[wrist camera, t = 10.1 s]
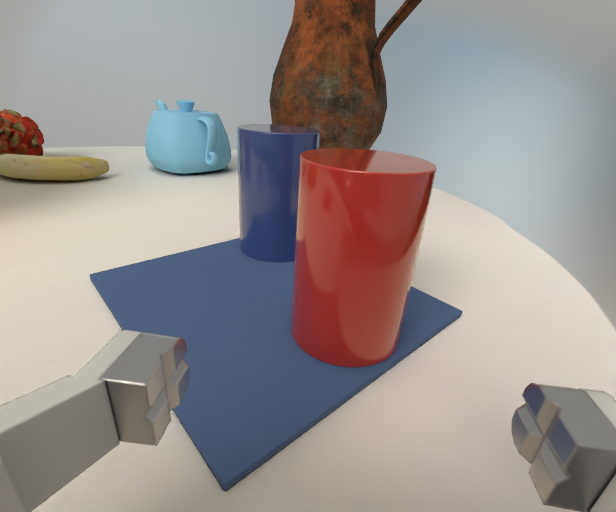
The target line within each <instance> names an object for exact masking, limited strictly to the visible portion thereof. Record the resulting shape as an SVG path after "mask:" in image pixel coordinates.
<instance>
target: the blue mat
mask: <svg viewBox="0 0 616 512" xmlns="http://www.w3.org/2000/svg"><path fill="white" fill-rule="evenodd" d="M293 273H294V261H288V262H268V261H261V260H257V259H254V258H251V257H249V256H247V255H246V254H244V253H243V252H242V250H241V248H240V238H238V239H234V240H230V241H226V242H222V243H217V244H213V245H209V246H205V247H201V248H197V249H193V250H189V251H184V252H180V253H176V254H172V255H168V256H164V257H160V258H156V259H152V260H147V261H143V262H139V263H135V264H131V265H127V266H123V267H119V268H114V269H110V270H106V271H102V272H98V273H94V274H90V279H91V281H92V282H93V284H94V285H95V287H96V288H97V290H98V292H99V293H100V295H101V296H102V298H103V300H104V301H105V303H106V304H107V306H108V307H109V309H110V311H111V312H112V314H113V315H114V317H115V319H116V320H117V322H118V323H119V325H120V326H121V328H122V330H130V331H136V332H142V333H144V332H146V333H152V334H159V335H165V336H172V337H178V338H183V339H184V340H185V341H186V347H187V352H186V354H185V356H184V357H183V360H184V361H185V362H186V363H187V364H188V365H189V382H188V386H187V389H186V392H185V395H184V397H183V399H182V401H181V403H180V405H178V406H177V407H175V408H173V410H174V412H175V414H176V415H177V417H178V418H179V420H180V422H181V423H182V425H183V426H184V428H185V429H186V431H187V433H188V434H189V436H190V437H191V439H192V441H193V442H194V444H195V445H196V447H197V448H198V450H199V452H200V453H201V455H202V456H203V458H204V460H205V461H206V463H207V464H208V466H209V468H210V469H211V471H212V472H213V474H214V475H215V477H216V479H217V480H218V482H219V483H220V485H221V487H222V488H223V490H224V491H226V490H227V489H228V488H230V487H231V486H232V485H234V484H235V483H236V482H238V481H239V480H240V479H242V478H243V477H244V476H246V475H247V474H249V473H250V472H251V471H253V470H254V469H255V468H257V467H258V466H259V465H261V464H262V463H263V462H265V461H266V460H267V459H269V458H270V457H271V456H273V455H274V454H275V453H277V452H278V451H279V450H281V449H282V448H284V447H285V446H286V445H288V444H289V443H290V442H292V441H293V440H294V439H296V438H297V437H298V436H300V435H301V434H302V433H304V432H305V431H306V430H308V429H309V428H310V427H312V426H313V425H314V424H316V423H317V422H319V421H320V420H321V419H323V418H324V417H325V416H327V415H328V414H329V413H331V412H332V411H333V410H335V409H336V408H337V407H339V406H340V405H341V404H343V403H344V402H345V401H347V400H348V399H349V398H351V397H352V396H354V395H355V394H356V393H358V392H359V391H360V390H362V389H363V388H364V387H366V386H367V385H368V384H370V383H371V382H372V381H374V380H375V379H376V378H378V377H379V376H380V375H382V374H383V373H384V372H386V371H387V370H389V369H390V368H391V367H393V366H394V365H395V364H397V363H398V362H399V361H401V360H402V359H403V358H405V357H406V356H407V355H409V354H410V353H411V352H413V351H414V350H415V349H417V348H418V347H419V346H421V345H422V344H424V343H425V342H426V341H428V340H429V339H430V338H432V337H433V336H434V335H436V334H437V333H438V332H440V331H441V330H442V329H444V328H445V327H446V326H448V325H449V324H450V323H452V322H453V321H454V320H456V319H457V318H459V317H460V316H461V314H462V311H461V310H459V309H457V308H455V307H453V306H451V305H449V304H447V303H444V302H442V301H440V300H438V299H436V298H434V297H432V296H430V295H428V294H426V293H424V292H422V291H420V290H417V289H415V288H413V287H411V288H410V293H409V297H408V302H407V307H406V311H405V316H404V320H403V325H402V329H401V334H400V339H399V343H398V347H397V348H396V350H395V352H394V353H393V354H392V355H391V356H390V357H389V358H388V359H386V360H384V361H383V362H380V363H378V364H375V365H371V366H366V367H342V366H336V365H332V364H328V363H325V362H322V361H320V360H318V359H316V358H314V357H312V356H310V355H309V354H307V353H306V352H305V351H304V350H302V349H301V348H300V347H299V345H298V344H297V343H296V341H295V340H294V338H293V336H292V333H291V313H292V293H293Z"/></svg>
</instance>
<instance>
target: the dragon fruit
mask: <svg viewBox="0 0 616 512" xmlns="http://www.w3.org/2000/svg"><path fill="white" fill-rule="evenodd" d="M43 143H44V138H43V134H42V133H41V131H40V129H38V125H37V124H36V123H35V122H34V121H33V120H32V119H30V118H29V117H21V115H20V114H19V113H17V112H15V111H12V110H6V109H4V110H3V111H0V155H3V154H18V155H34V156H43V148H42V146H41V145H42V144H43Z"/></svg>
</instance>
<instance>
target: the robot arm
mask: <svg viewBox="0 0 616 512" xmlns="http://www.w3.org/2000/svg"><path fill="white" fill-rule="evenodd" d="M186 352H187V347H186V341H185V340H184V339H183V338H178V337H172V336H165V335H159V334H152V333H146V332H144V333H142V332H136V331H130V330H123V331H120V332H118V333H117V334H116V335H115V336H114V337H113V338H112V339H111V340H110V341H109V342H108V343H107V344H106V345H105V346H104V347H103V348H102V349H101V350H100V351H99V352H98V353H97V354H96V355H95V356H94V357H93V358H92V359H91V360H90V361H89V362H88V363H87V364H86V365H85V366H84V367H83V368H82V369H81V370H80V371H79V373H78V374H77V375H76V376H66V377H64V378H62V379H59V380H57V381H55V382H53V383H50V384H48V385H46V386H44V387H42V388H39V389H37V390H35V391H33V392H30V393H28V394H26V395H24V396H22V397H19V398H17V399H15V400H13V401H10V402H8V403H6V404H4V405H2V406H0V512H31V511H32V510H34V509H35V508H36V507H38V506H39V505H40V504H42V503H43V502H44V501H46V500H47V499H48V498H49V497H51V496H52V495H53V494H55V493H56V492H57V491H59V490H60V489H61V488H62V487H64V486H65V485H66V484H68V483H69V482H70V481H72V480H73V479H74V478H75V477H77V476H78V475H79V474H81V473H82V472H83V471H85V470H86V469H87V468H88V467H90V466H91V465H92V464H94V463H95V462H96V461H98V460H99V459H100V458H101V457H103V456H104V455H105V454H107V453H108V452H109V451H111V450H112V449H113V448H115V447H116V446H117V445H118V444H119V443H120V442H119V441H122V442H130V443H139V444H147V445H155V446H157V444H158V442H159V441H160V439H161V437H162V435H163V433H164V432H165V430H166V428H167V426H168V424H169V423H170V421H171V418H170V410H172V409H173V408H175V407H177V406H178V405H180V403H181V401H182V399H183V397H184V395H185V392H186V389H187V386H188V382H189V365H188V364H187V363H186V362H185V361H184V360H183V357H184V356H185V354H186ZM522 396H523V398H524V400H525V402H526V404H524V405H522V406H521V407H519V408H518V409H516V411H515V413H514V416H513V418H512V435H513V440H514V443H515V445H516V448H517V450H518V452H519V454H521V455H522V456H523V457H524V458H525V459H526V460H527V461H528V462H529V463H530V464H531V465H530V469H529V472H528V473H529V475H530V477H531V479H532V482H533V484H534V486H535V488H536V490H537V492H538V494H539V496H540V498H541V500H542V502H543V505H547V506H553V507H558V508H564V509H570V510H575V511H581V512H616V401H615V399H614V398H613V397H612V396H611V395H609V394H607V393H606V392H604V391H598V390H589V389H580V388H579V389H575V388H568V387H560V386H552V385H543V384H535V383H531V384H530V385H528V386H527V387H526V389H525V391H524V393H523V395H522Z"/></svg>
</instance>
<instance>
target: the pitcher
mask: <svg viewBox="0 0 616 512" xmlns="http://www.w3.org/2000/svg"><path fill="white" fill-rule="evenodd" d="M421 1H422V0H406V1H405V2H404V3H403V5H402V6H401V7H400V9H399V10H398V11H397V12H396V13H395V14H394V16H393V17H392V18H391V19H390V21H389V22H388V23H387V24H386V26H385V27H384V28H383V30H382V31H381V33H380V34H379V36H378V38H377V35H376V29H375V0H295V7H294V14H293V21H292V24H291V27H290V30H289V32H288V35H287V38H286V41H285V44H284V46H283V49H282V52H281V55H280V58H279V61H278V63H277V66H276V69H275V73H274V75H273V82H272V88H271V94H270V108H271V117H272V125H288V126H298V127H306V128H312V129H316V130H319V131H320V132H321V134H320V148H319V149H325V148H348V149H365V150H369V149H370V148H371V146H372V145H373V143H374V142H375V140H376V139H377V137H378V136H379V134H380V133H381V130H382V126H383V122H384V117H385V113H386V109H387V97H386V80H385V75H384V70H383V66H382V61H381V56H380V53H381V50H382V48H383V46H384V45H385V43H386V42H387V40H388V39H389V38H390V36H391V35H392V34H393V33H394V32H395V30H396V29H397V28H398V27H399V26H400V24H401V23H402V22H403V21H404V20H405V19H406V18H407V17H408V16H409V14H410V13H411V12H412V11H413V10H414V9H415V8H416V6H417V5H418V4H419V3H420V2H421Z"/></svg>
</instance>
